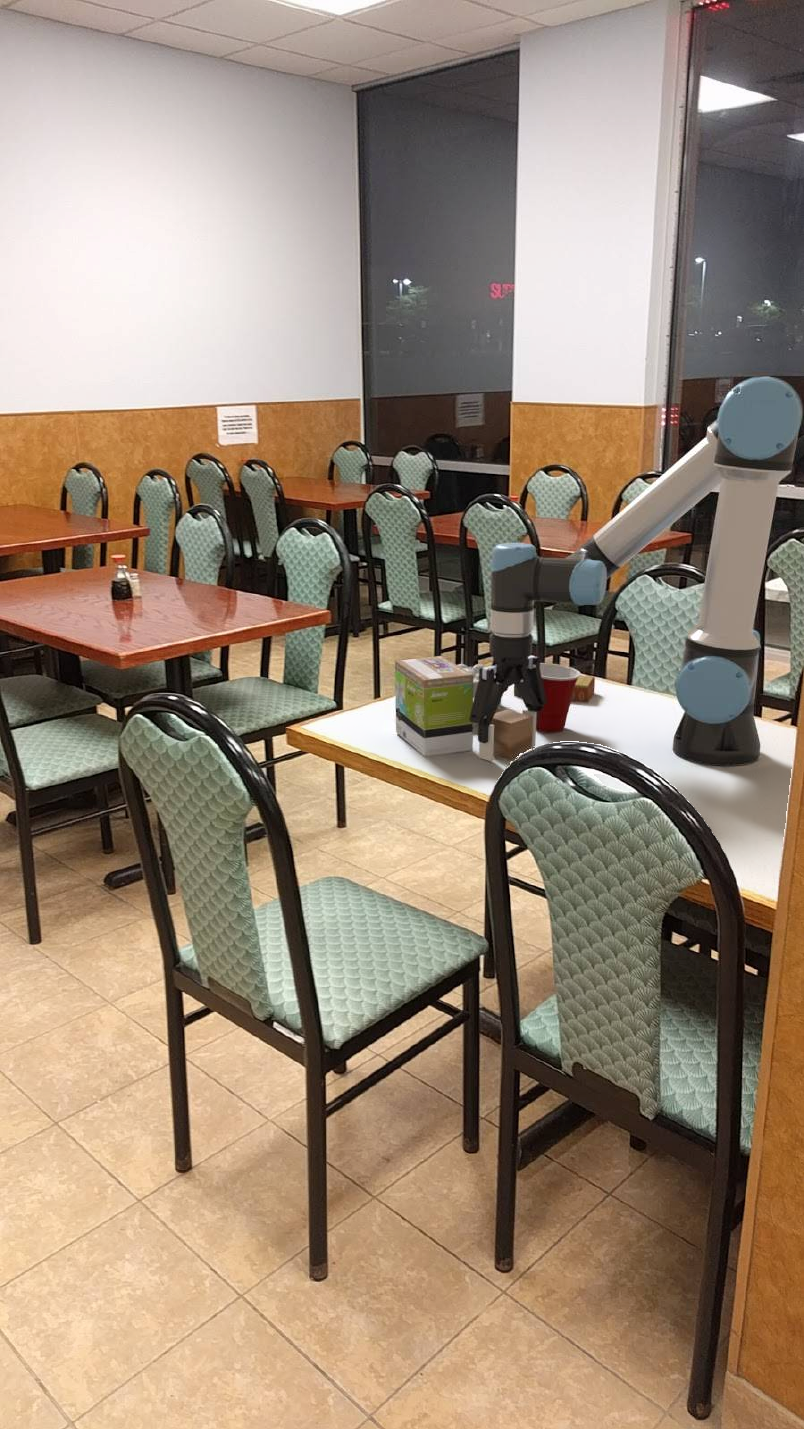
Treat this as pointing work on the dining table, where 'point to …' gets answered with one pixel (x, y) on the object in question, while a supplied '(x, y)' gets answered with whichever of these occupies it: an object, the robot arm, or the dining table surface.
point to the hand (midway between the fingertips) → (507, 751)
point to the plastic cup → (556, 696)
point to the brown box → (511, 734)
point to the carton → (577, 689)
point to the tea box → (434, 705)
